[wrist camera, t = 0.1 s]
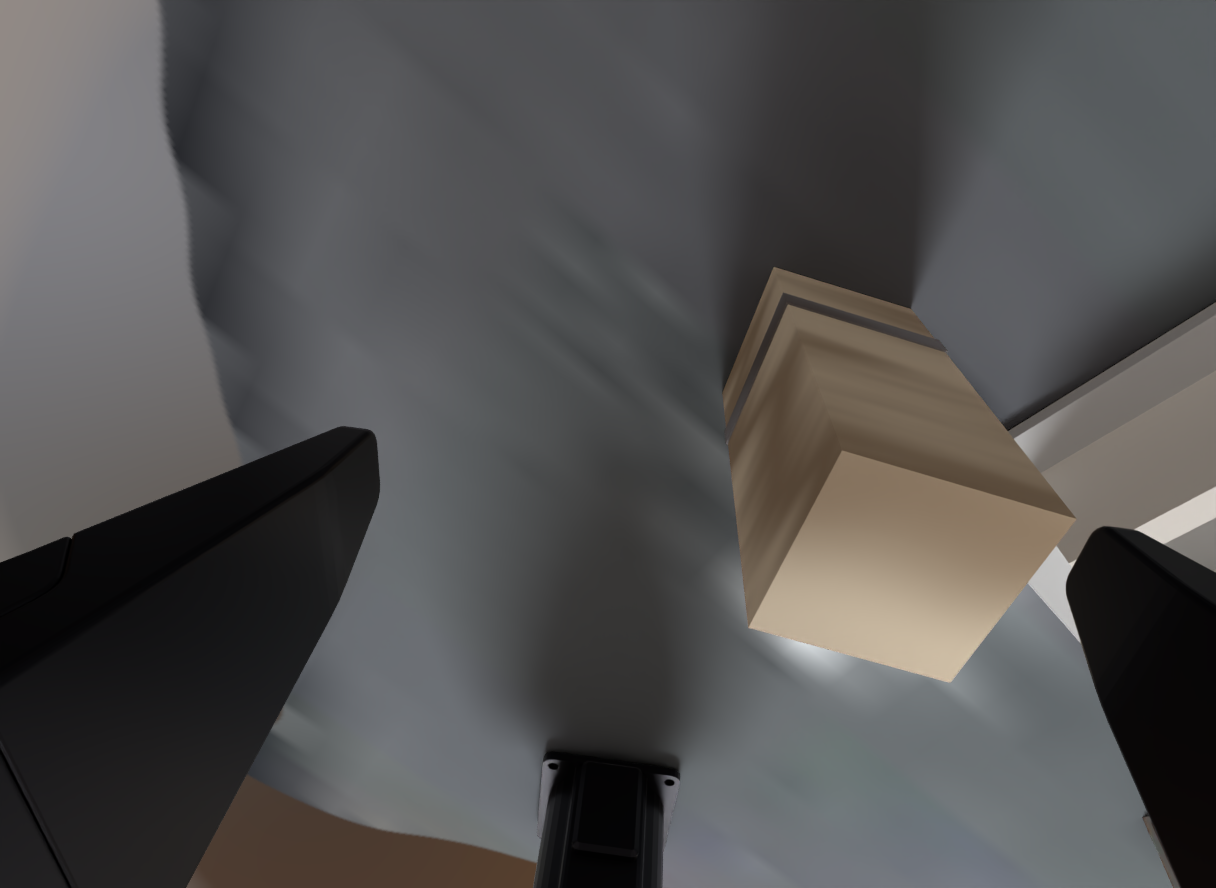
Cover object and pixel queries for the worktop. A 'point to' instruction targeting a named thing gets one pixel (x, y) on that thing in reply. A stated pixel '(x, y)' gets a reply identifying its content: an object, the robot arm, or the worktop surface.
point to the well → (1133, 453)
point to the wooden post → (875, 484)
